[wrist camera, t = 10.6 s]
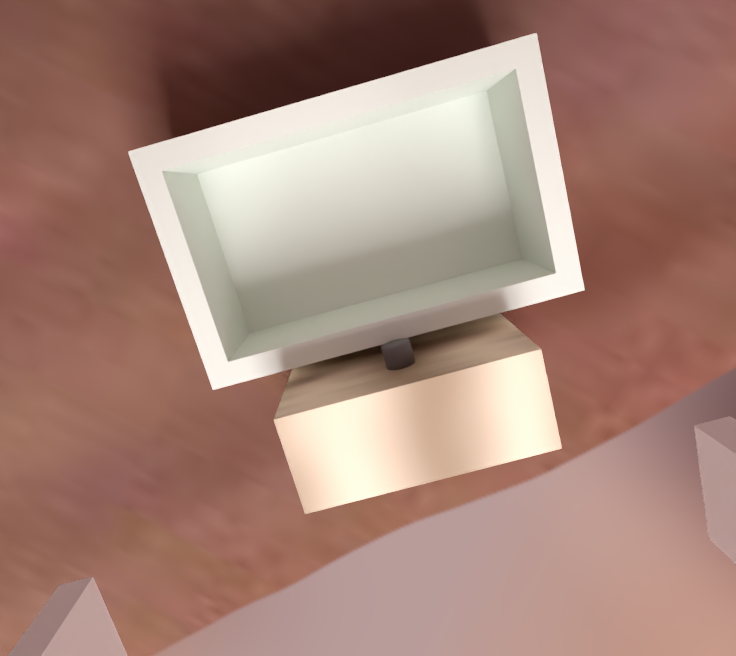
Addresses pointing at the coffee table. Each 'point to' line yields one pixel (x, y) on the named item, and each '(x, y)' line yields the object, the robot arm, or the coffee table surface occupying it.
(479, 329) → the knobbed wooden block
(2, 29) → the coffee table surface
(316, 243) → the box
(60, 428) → the coffee table surface
